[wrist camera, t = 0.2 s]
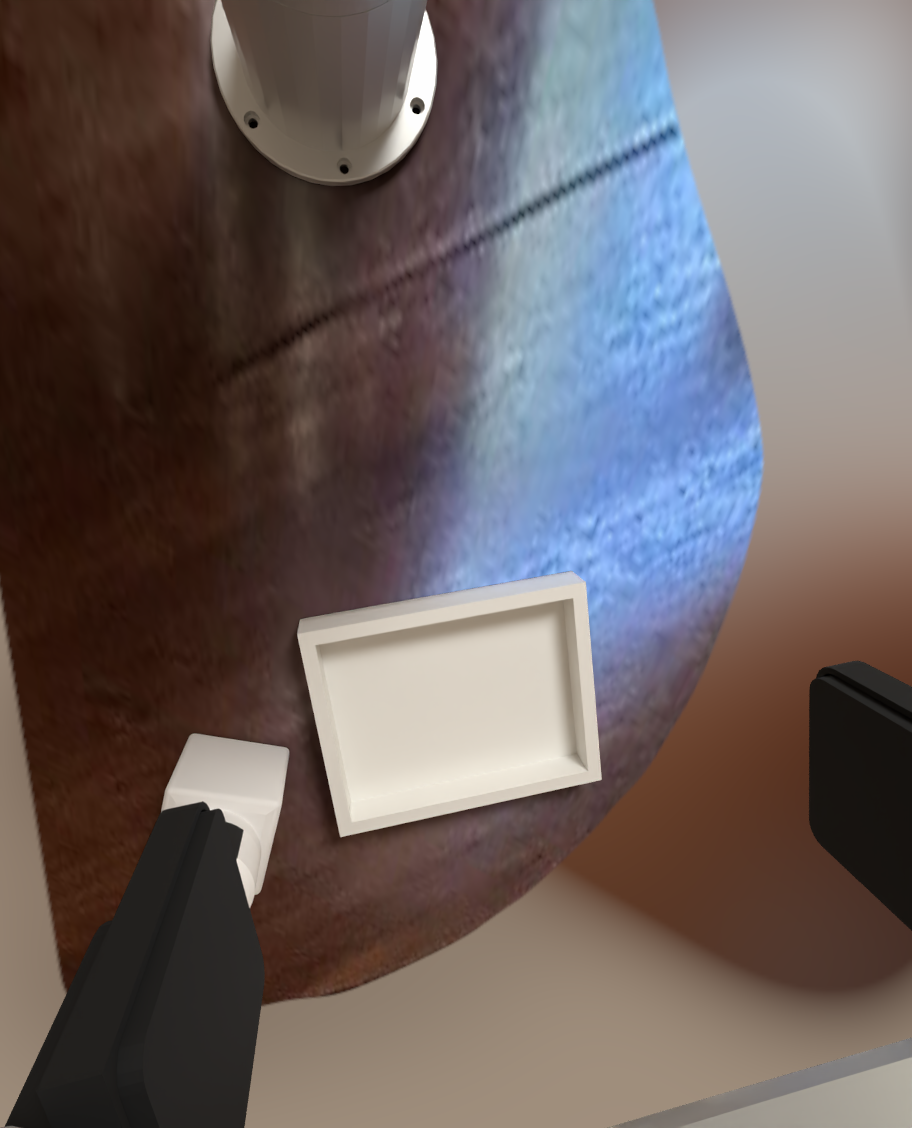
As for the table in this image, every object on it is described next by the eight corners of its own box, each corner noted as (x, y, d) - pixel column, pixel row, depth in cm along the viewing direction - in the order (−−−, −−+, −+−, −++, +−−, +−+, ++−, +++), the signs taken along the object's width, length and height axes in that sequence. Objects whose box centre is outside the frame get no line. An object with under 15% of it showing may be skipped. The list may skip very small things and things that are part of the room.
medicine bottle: (173, 816, 49) (120, 948, 37) (190, 730, 47) (141, 840, 36) (271, 829, 50) (249, 959, 39) (290, 746, 49) (274, 855, 37)
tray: (299, 619, 46) (296, 634, 43) (571, 570, 49) (585, 582, 46) (340, 811, 51) (340, 837, 48) (587, 758, 53) (601, 779, 50)
